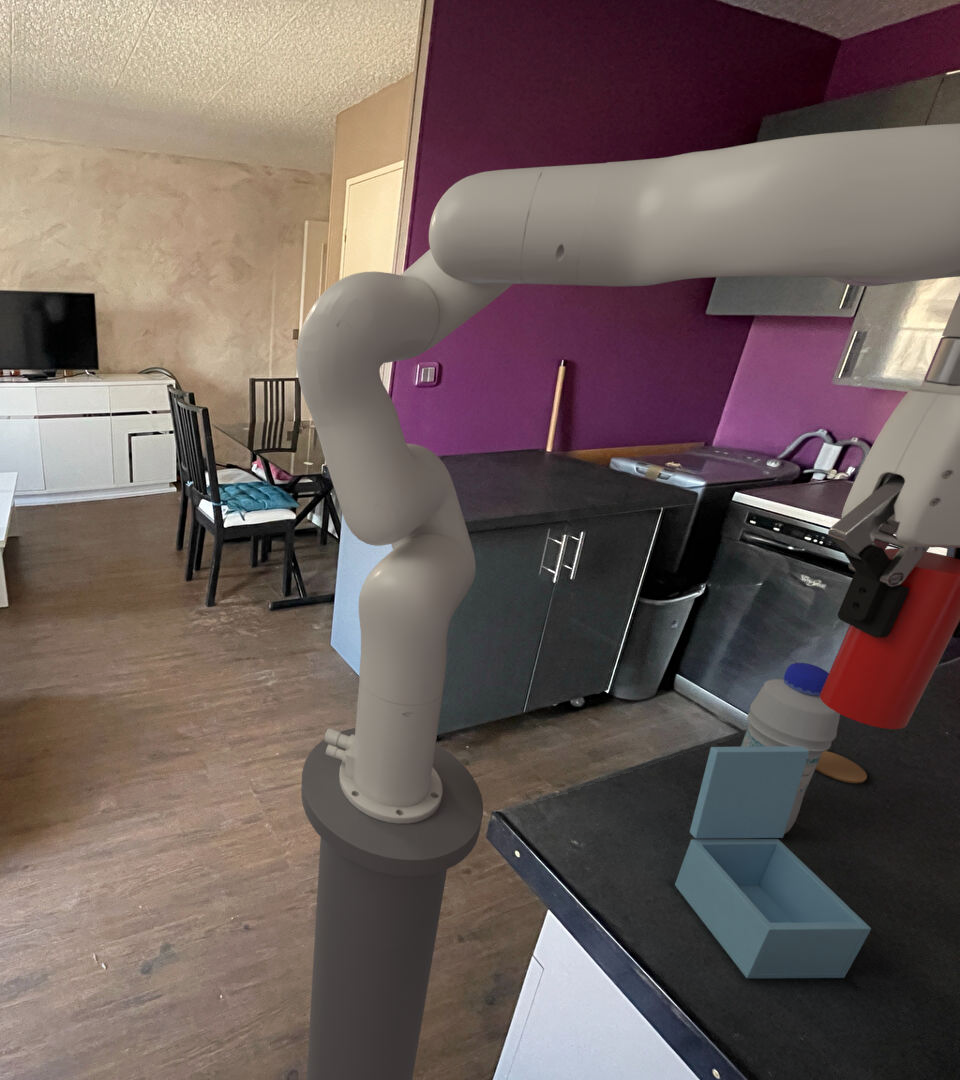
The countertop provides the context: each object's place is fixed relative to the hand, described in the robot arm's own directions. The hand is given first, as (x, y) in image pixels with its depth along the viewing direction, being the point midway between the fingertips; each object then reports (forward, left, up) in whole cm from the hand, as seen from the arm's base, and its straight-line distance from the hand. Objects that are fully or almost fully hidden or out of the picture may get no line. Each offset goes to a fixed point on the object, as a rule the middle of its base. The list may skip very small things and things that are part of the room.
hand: (900, 625), depth 42 cm
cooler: (-1, -1, -32) cm, 32 cm away
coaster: (+12, +31, -32) cm, 46 cm away
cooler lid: (-3, +3, -20) cm, 21 cm away
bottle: (+1, +15, -32) cm, 36 cm away
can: (0, 0, -7) cm, 7 cm away
